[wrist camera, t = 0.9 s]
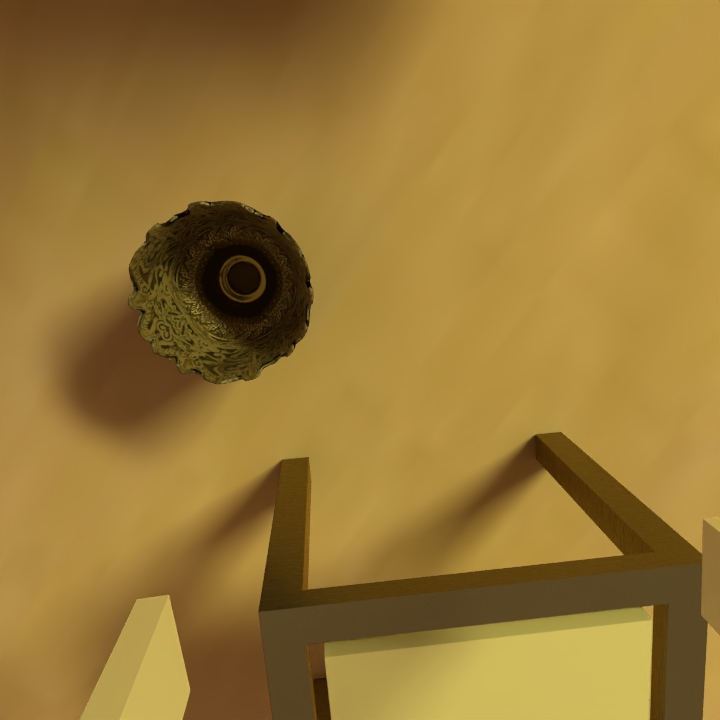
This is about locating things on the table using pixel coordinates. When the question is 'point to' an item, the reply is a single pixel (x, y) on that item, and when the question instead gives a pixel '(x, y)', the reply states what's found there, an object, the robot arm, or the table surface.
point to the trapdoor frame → (490, 591)
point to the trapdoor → (498, 671)
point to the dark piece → (220, 291)
